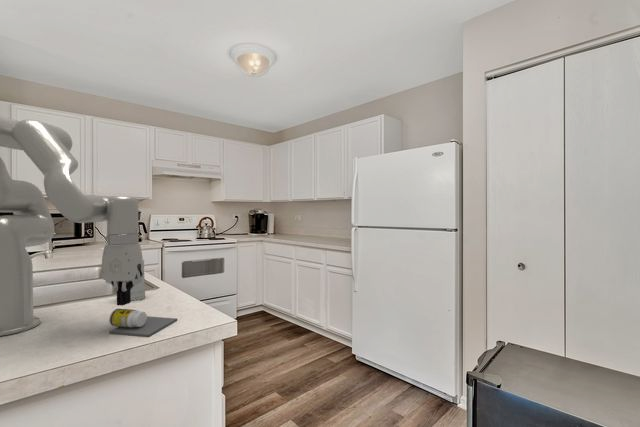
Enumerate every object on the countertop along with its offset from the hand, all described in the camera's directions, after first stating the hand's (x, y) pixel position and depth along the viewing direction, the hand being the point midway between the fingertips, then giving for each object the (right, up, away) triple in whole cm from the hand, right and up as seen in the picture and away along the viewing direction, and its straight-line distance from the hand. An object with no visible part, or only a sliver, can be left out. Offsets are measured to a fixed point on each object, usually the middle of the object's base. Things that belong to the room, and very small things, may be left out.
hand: (123, 303), depth 88 cm
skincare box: (-14, -6, +26) cm, 30 cm away
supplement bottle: (-2, -4, -1) cm, 4 cm away
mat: (+6, -7, 0) cm, 9 cm away
